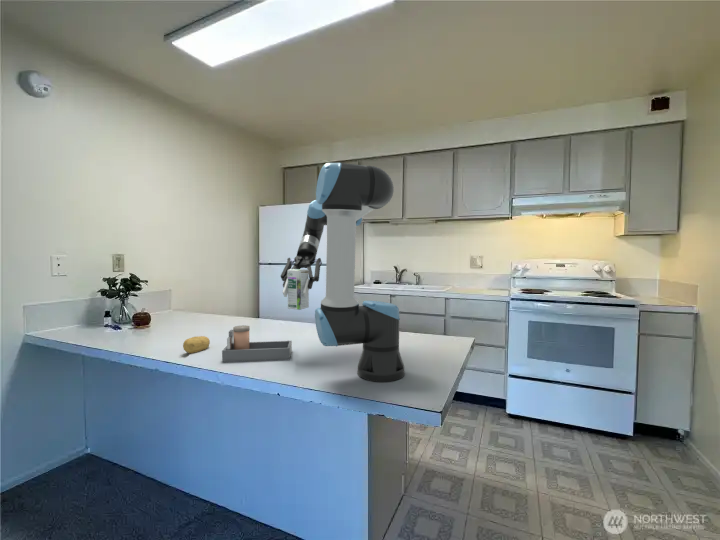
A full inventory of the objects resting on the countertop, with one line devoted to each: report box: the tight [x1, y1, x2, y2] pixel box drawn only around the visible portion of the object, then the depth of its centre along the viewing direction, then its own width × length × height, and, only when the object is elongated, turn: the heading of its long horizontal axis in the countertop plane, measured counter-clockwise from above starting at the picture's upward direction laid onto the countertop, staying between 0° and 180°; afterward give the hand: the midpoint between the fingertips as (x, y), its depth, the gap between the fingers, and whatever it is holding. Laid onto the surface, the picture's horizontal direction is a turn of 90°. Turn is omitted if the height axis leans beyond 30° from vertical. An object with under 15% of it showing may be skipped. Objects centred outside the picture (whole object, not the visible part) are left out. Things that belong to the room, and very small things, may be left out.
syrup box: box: [287, 268, 310, 311], centre depth 125 cm, size 6×6×14 cm
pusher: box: [226, 329, 234, 350], centre depth 123 cm, size 1×8×9 cm, turn 7°
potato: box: [182, 335, 211, 355], centre depth 133 cm, size 7×11×6 cm, turn 155°
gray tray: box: [221, 340, 293, 363], centre depth 124 cm, size 23×11×5 cm, turn 98°
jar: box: [232, 325, 251, 350], centre depth 123 cm, size 6×6×11 cm
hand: (294, 294), depth 122 cm, fingers closed on syrup box, 7 cm apart
